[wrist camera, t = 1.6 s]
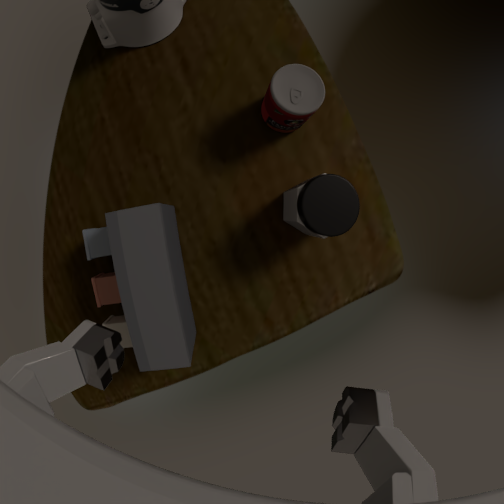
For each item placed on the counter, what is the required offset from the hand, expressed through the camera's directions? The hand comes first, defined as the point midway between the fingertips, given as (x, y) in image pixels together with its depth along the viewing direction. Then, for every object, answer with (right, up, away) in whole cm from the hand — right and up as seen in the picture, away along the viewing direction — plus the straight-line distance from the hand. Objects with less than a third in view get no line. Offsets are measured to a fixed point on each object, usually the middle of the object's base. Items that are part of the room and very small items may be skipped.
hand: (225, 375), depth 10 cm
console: (-13, +1, +39) cm, 42 cm away
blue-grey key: (-20, +6, +35) cm, 40 cm away
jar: (+10, +12, +41) cm, 44 cm away
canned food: (+6, +28, +39) cm, 48 cm away
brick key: (-19, -1, +36) cm, 40 cm away
